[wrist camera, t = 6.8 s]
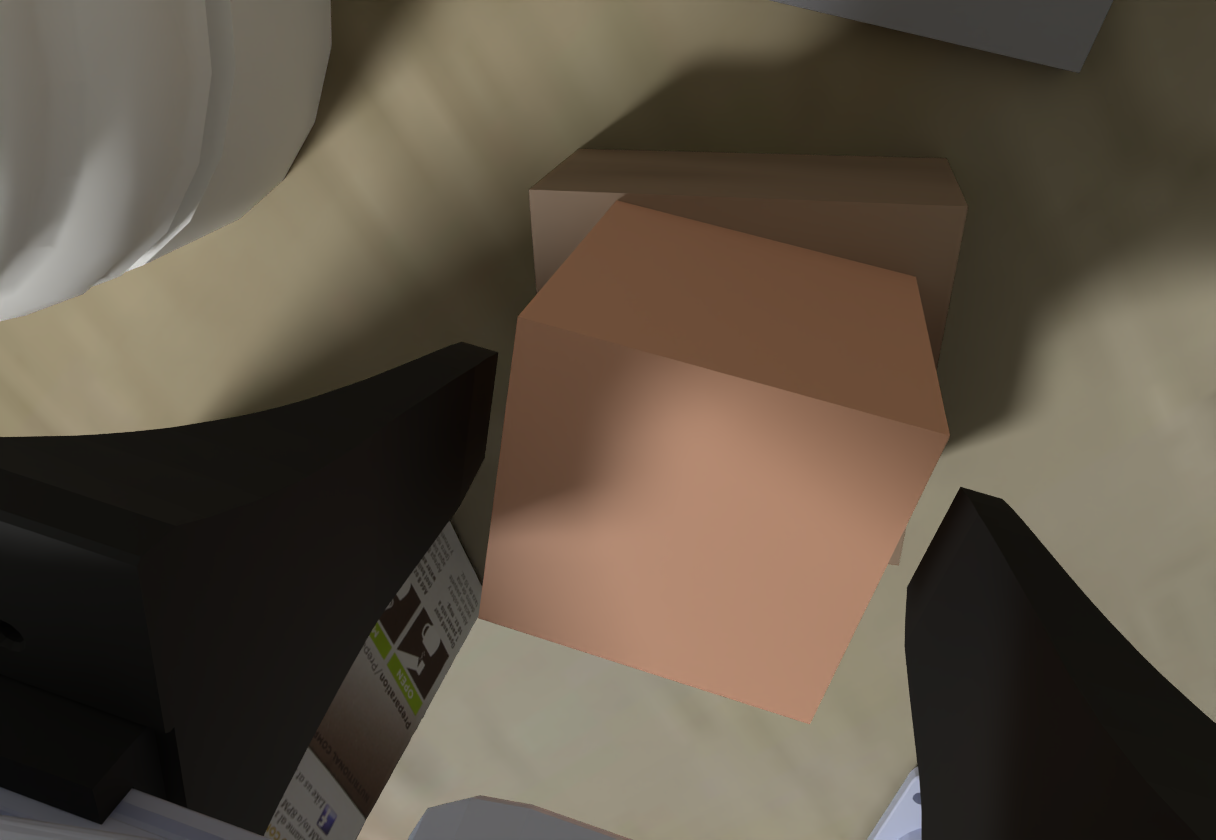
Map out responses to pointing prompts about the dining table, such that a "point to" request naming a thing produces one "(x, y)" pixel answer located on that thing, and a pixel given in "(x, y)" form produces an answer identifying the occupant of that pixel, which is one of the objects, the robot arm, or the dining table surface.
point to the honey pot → (142, 129)
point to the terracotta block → (710, 455)
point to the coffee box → (382, 699)
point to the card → (987, 24)
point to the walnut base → (772, 209)
